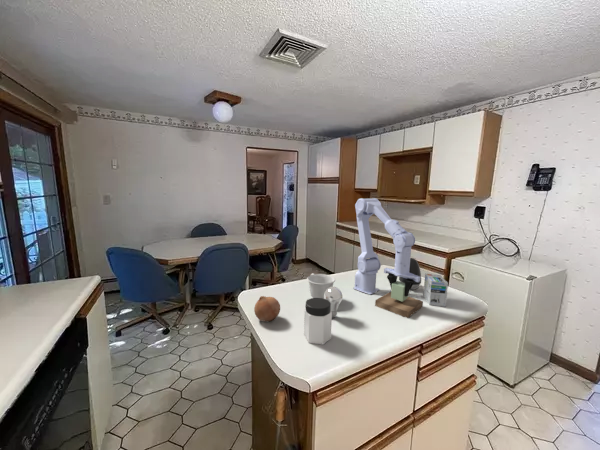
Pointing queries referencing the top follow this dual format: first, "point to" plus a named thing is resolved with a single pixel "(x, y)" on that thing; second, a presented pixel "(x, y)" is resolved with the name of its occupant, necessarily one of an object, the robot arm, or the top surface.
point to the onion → (267, 309)
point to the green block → (398, 291)
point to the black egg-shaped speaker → (414, 270)
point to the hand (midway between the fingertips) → (399, 293)
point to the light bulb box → (435, 290)
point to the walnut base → (399, 305)
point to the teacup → (319, 284)
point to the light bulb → (333, 298)
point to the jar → (317, 320)
